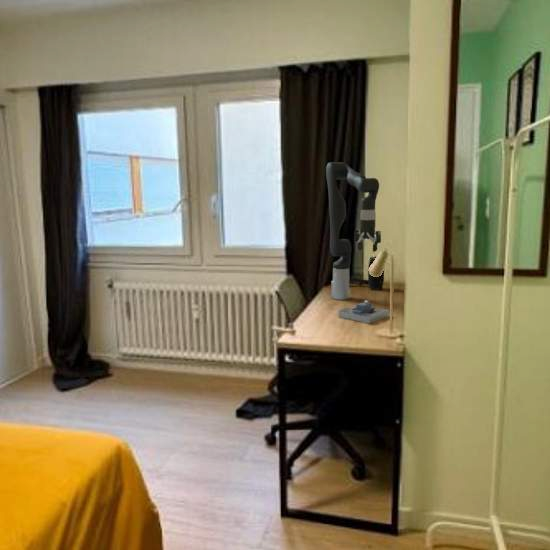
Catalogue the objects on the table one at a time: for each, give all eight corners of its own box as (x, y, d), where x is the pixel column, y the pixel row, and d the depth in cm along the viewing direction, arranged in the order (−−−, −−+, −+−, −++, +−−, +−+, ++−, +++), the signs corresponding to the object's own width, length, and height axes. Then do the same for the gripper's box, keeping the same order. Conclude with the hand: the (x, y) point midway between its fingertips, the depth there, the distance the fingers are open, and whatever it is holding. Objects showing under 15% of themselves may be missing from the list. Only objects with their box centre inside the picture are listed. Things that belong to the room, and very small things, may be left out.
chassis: (338, 316, 244) (338, 310, 244) (358, 310, 256) (358, 304, 256) (369, 323, 232) (369, 317, 231) (389, 316, 244) (389, 310, 243)
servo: (352, 317, 241) (352, 303, 239) (367, 312, 250) (368, 298, 249) (359, 319, 238) (359, 305, 237) (374, 313, 247) (375, 300, 246)
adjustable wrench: (376, 294, 311) (336, 285, 314) (376, 293, 314) (336, 284, 317) (379, 281, 309) (339, 272, 312) (379, 280, 312) (339, 272, 315)
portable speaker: (385, 290, 300) (386, 258, 296) (370, 290, 299) (370, 258, 296) (381, 287, 308) (382, 255, 305) (366, 287, 308) (366, 256, 304)
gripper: (384, 218, 248) (383, 251, 251) (360, 217, 258) (360, 248, 261) (375, 219, 243) (375, 252, 246) (351, 218, 253) (351, 250, 256)
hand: (367, 250), depth 254 cm, fingers open, 8 cm apart
